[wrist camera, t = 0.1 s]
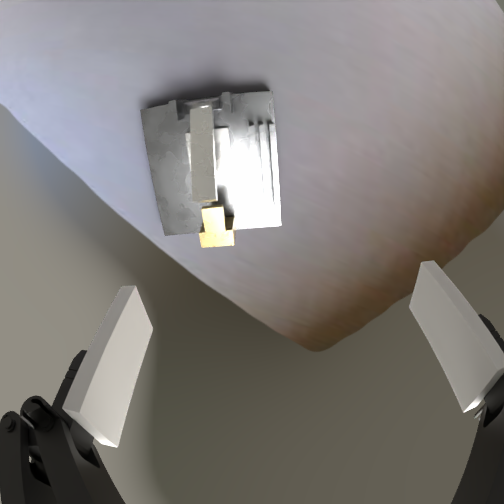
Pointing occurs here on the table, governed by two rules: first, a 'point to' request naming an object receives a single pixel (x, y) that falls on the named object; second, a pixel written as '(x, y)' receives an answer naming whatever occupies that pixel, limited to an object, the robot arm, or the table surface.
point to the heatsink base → (227, 162)
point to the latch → (216, 227)
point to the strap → (202, 149)
